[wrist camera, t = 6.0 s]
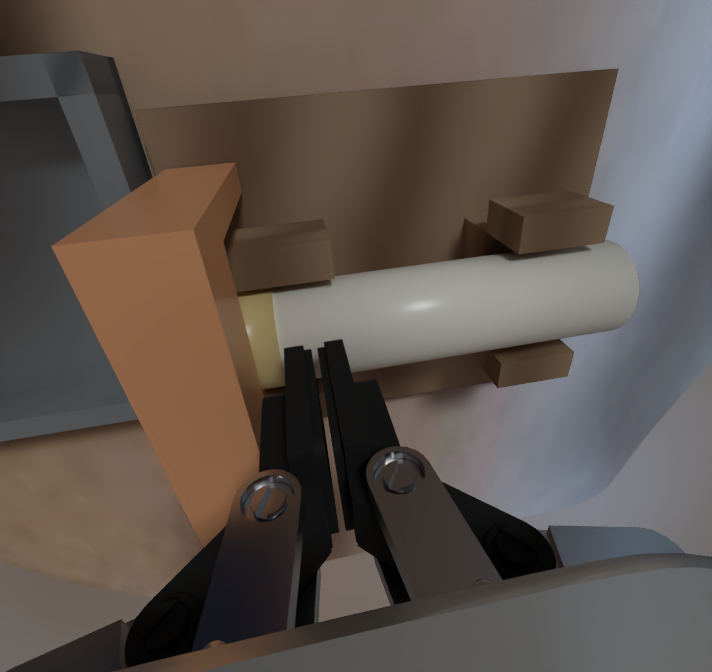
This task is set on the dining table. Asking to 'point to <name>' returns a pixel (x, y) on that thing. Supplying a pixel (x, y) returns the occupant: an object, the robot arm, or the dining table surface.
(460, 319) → the yellow-tipped white cylinder
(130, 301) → the orange bracket
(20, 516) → the dining table surface
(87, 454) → the dining table surface
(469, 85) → the cradle board
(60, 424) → the tray
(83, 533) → the dining table surface
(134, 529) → the dining table surface
